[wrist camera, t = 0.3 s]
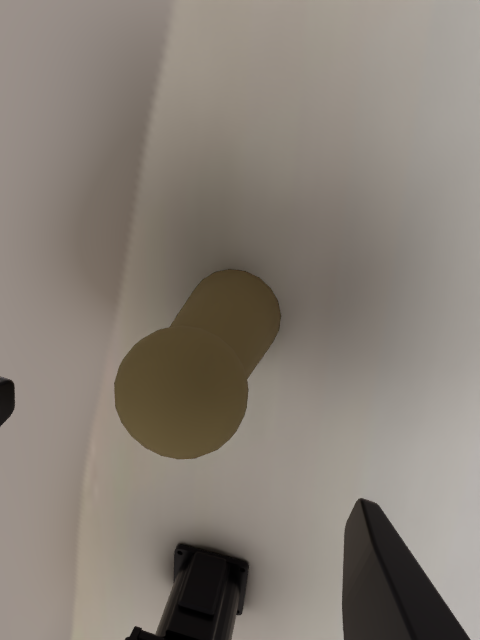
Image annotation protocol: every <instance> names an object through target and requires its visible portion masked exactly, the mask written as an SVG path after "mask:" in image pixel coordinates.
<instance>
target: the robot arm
mask: <svg viewBox="0 0 480 640" xmlns="http://www.w3.org/2000/svg"><path fill="white" fill-rule="evenodd" d="M14 389H15V387H14V383H13V381H12V380H10V379H7V378H4V377H1V376H0V426H1V425H2V424H3V423H4V422H5V421H6V420H7V419H8V418H9V417H10V415H11V414H12V412H13V410H14V407H15V390H14ZM248 570H249V565H248V563H246V562H244V561H241V560H237V559H233V558H230V557H226V556H222V555H219V554H215V553H211V552H207V551H204V550H200V549H196V548H193V547H189V546H185V545H181V544H179V545H177V546H176V549H175V554H174V585H173V588H172V590H171V593H170V596H169V598H168V601H167V604H166V607H165V609H164V612H163V615H162V618H161V620H160V623H159V626H158V629H157V631H156V634H152V633H149V632H146V631H143V630H142V628H140V627H137V626H135V627H134V629H133V631H132V633H131V635H130V637H127V638H126V639H125V640H231V639H232V634H233V629H234V623H235V618H236V615H241V614H242V611H243V605H244V598H245V591H246V584H247V577H248ZM342 613H343V631H344V640H470V638H469V637H468V635H467V634H466V632H465V631H464V629H463V628H462V626H461V625H460V624H459V622H458V621H457V619H456V618H455V616H454V615H453V613H452V612H451V610H450V609H449V607H448V606H447V604H446V603H445V602H444V600H443V599H442V597H441V596H440V594H439V593H438V591H437V590H436V588H435V587H434V585H433V584H432V582H431V581H430V580H429V578H428V577H427V575H426V574H425V572H424V571H423V569H422V568H421V566H420V565H419V563H418V562H417V560H416V559H415V558H414V556H413V555H412V553H411V552H410V550H409V549H408V547H407V546H406V544H405V543H404V541H403V540H402V538H401V537H400V536H399V534H398V533H397V531H396V530H395V528H394V527H393V525H392V524H391V522H390V521H389V519H388V518H387V516H386V515H385V514H384V512H383V511H382V509H381V508H380V506H379V505H378V504H377V503H375V502H372V501H369V500H366V499H363V498H360V499H358V500H357V502H356V503H355V506H354V508H353V510H352V512H351V514H350V516H349V518H348V520H347V522H346V526H345V533H344V561H343V589H342Z"/></svg>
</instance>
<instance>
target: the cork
mask: <svg viewBox="0 0 480 640" xmlns="http://www.w3.org/2000/svg"><path fill="white" fill-rule="evenodd" d="M280 319H281V314H280V309H279V304H278V301H277V299H276V297H275V295H274V294H273V292H272V290H271V288H270V287H269V286H267V285H266V284H265V283H264V282H263V281H262V280H261V279H260V278H259V277H256V276H254V275H252V274H250V273H248V272H246V271H240V270H231V269H228V270H223V271H219V272H215V273H213V274H211V275H210V276H208V277H206V278H204V279H203V280H202V281H201V282H200V284H199V285H198V286H197V287H196V288H195V290H194V291H193V292H192V294H191V295H190V297H189V298H188V300H187V302H186V303H185V305H184V306H183V308H182V309H181V311H180V312H179V314H178V315H177V317H176V318H175V320H174V321H173V323H172V324H171V326H170V327H169V328H164V329H161V330H157V331H156V332H154V333H152V334H150V335H148V336H147V337H145V338H143V339H141V340H140V341H139V342H138V343H136V344H135V345H134V346H133V348H132V349H131V350H130V351H129V353H128V354H127V355H126V356H125V357H124V359H123V361H122V363H121V364H120V366H119V369H118V373H117V376H116V379H115V382H114V387H115V407H116V410H117V412H118V415H119V417H120V420H121V423H122V424H123V425H124V427H125V428H126V429H127V431H128V432H129V433H130V435H131V436H132V437H133V438H134V439H135V440H137V441H138V442H139V443H140V444H141V445H143V446H144V447H145V448H147V449H149V450H151V451H153V452H155V453H157V454H159V455H161V456H165V457H170V458H175V459H193V458H197V457H200V456H202V455H205V454H208V453H210V452H213V451H215V450H218V449H219V448H220V447H221V446H222V445H223V444H225V443H226V442H227V441H228V440H229V439H230V438H231V437H232V436H233V435H234V433H235V432H236V431H237V429H238V427H239V425H240V423H241V421H242V419H243V417H244V415H245V411H246V408H247V399H248V382H247V379H248V377H249V376H250V374H251V373H252V371H253V370H254V369H255V367H256V366H257V364H258V363H259V361H260V360H261V358H262V357H263V356H264V354H265V353H266V351H267V350H268V348H269V347H270V345H271V344H272V343H273V341H274V339H275V337H276V335H277V333H278V331H279V327H280Z"/></svg>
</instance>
